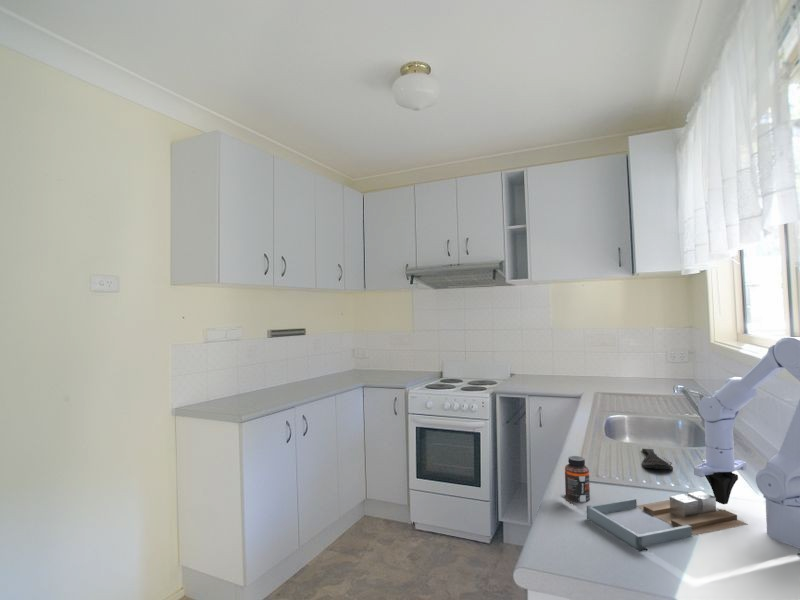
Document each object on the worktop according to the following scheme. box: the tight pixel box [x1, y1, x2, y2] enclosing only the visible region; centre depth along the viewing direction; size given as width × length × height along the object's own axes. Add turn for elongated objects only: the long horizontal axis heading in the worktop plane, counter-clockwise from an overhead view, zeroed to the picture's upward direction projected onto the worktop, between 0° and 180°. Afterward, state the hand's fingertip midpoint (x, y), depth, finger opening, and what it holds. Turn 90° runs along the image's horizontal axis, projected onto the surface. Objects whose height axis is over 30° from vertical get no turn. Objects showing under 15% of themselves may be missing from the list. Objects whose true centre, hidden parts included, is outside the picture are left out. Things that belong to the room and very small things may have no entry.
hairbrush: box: [641, 448, 674, 471], centre depth 150 cm, size 8×4×25 cm
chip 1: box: [669, 493, 698, 518], centre depth 109 cm, size 4×4×4 cm
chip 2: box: [687, 490, 717, 515], centre depth 110 cm, size 4×4×4 cm
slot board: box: [637, 499, 749, 536], centre depth 109 cm, size 16×16×2 cm
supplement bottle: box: [564, 455, 591, 504], centre depth 120 cm, size 6×6×11 cm
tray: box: [586, 497, 693, 553], centre depth 105 cm, size 16×14×3 cm
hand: (721, 502), depth 112 cm, fingers closed
